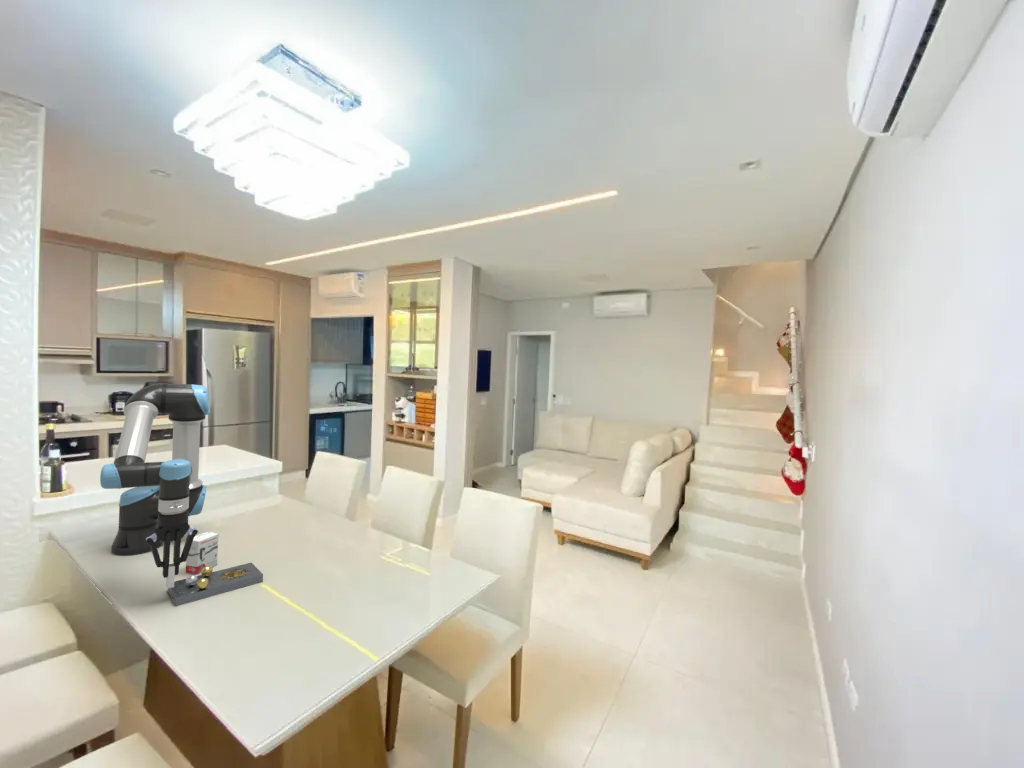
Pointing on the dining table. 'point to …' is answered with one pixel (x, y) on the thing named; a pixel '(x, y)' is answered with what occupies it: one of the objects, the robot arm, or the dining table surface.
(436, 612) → the dining table surface
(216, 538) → the ink box
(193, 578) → the steel ball
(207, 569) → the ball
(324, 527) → the dining table surface
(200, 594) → the plate
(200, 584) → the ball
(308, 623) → the dining table surface
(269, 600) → the dining table surface
